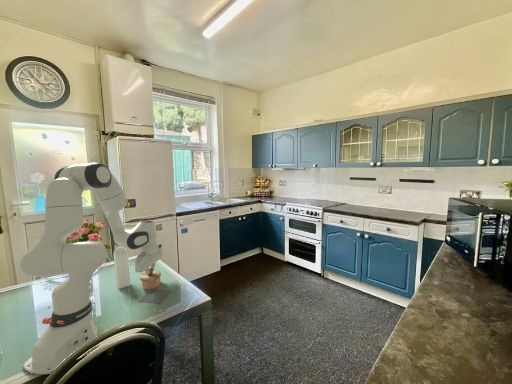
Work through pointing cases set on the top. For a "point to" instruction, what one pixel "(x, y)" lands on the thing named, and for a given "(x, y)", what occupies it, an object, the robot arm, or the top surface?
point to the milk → (121, 267)
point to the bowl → (151, 284)
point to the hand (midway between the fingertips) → (150, 272)
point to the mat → (155, 296)
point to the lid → (150, 275)
